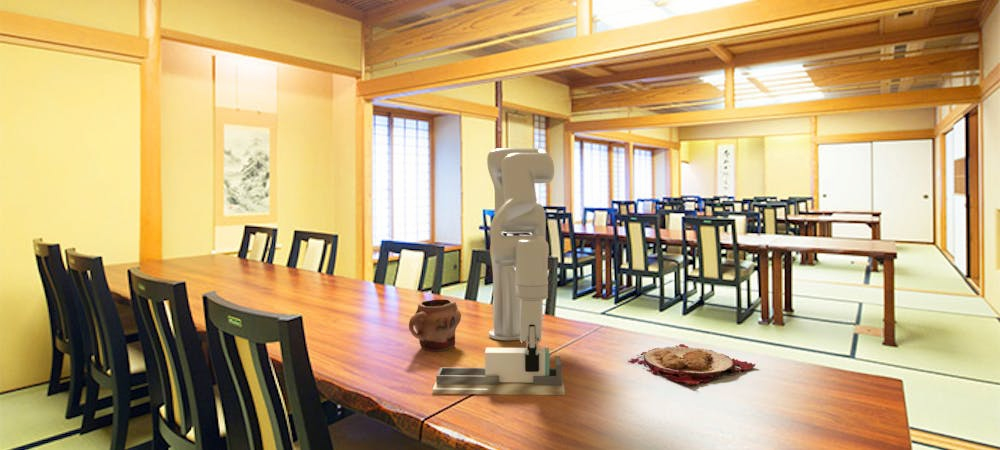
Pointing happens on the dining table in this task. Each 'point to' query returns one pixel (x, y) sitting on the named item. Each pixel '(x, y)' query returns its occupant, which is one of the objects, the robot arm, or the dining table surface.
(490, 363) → the white teal block
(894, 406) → the dining table surface
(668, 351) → the plate with food
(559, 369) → the socket
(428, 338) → the brown clay mug
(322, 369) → the dining table surface
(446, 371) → the base
